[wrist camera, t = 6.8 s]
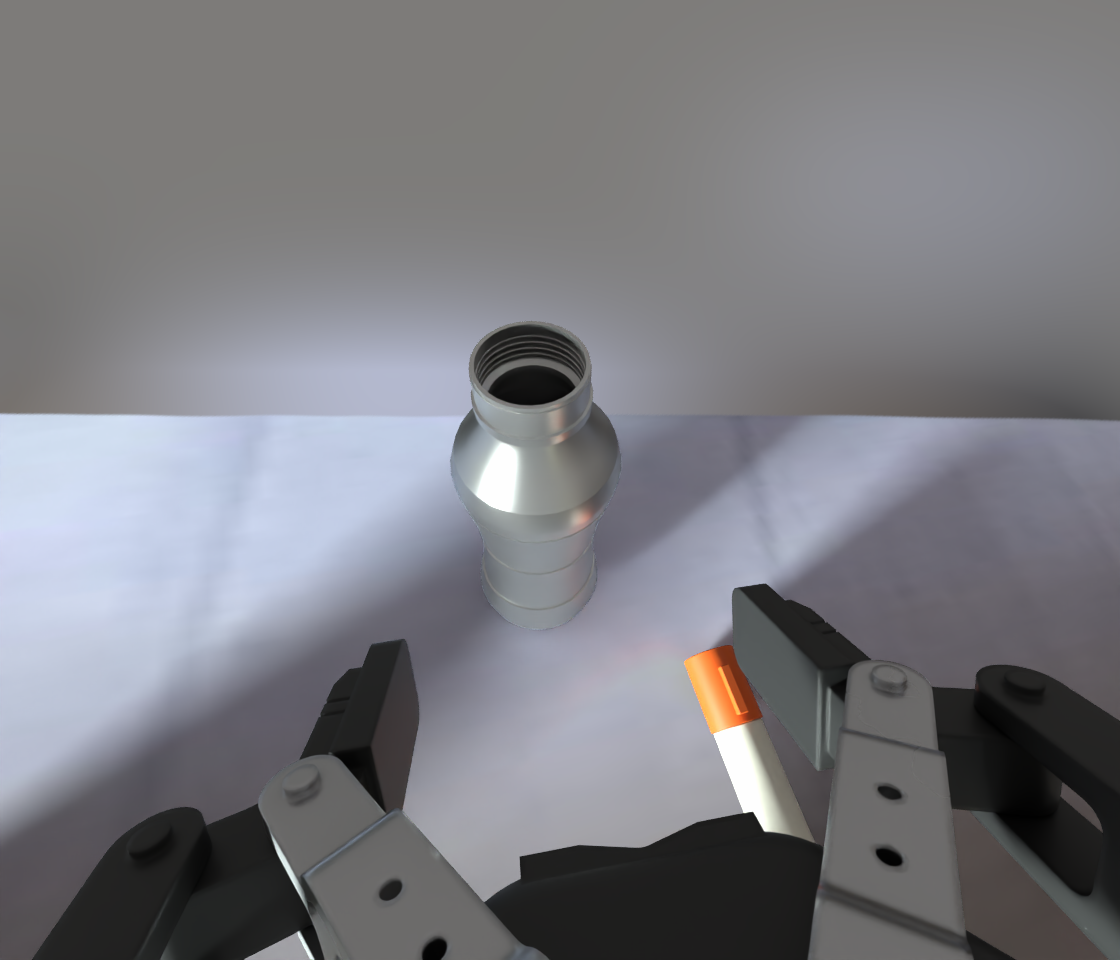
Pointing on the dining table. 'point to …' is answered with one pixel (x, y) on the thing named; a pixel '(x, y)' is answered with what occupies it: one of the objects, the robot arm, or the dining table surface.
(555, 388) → the silver metal bottle
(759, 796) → the marker
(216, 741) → the dining table surface
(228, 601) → the dining table surface
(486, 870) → the dining table surface
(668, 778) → the dining table surface
